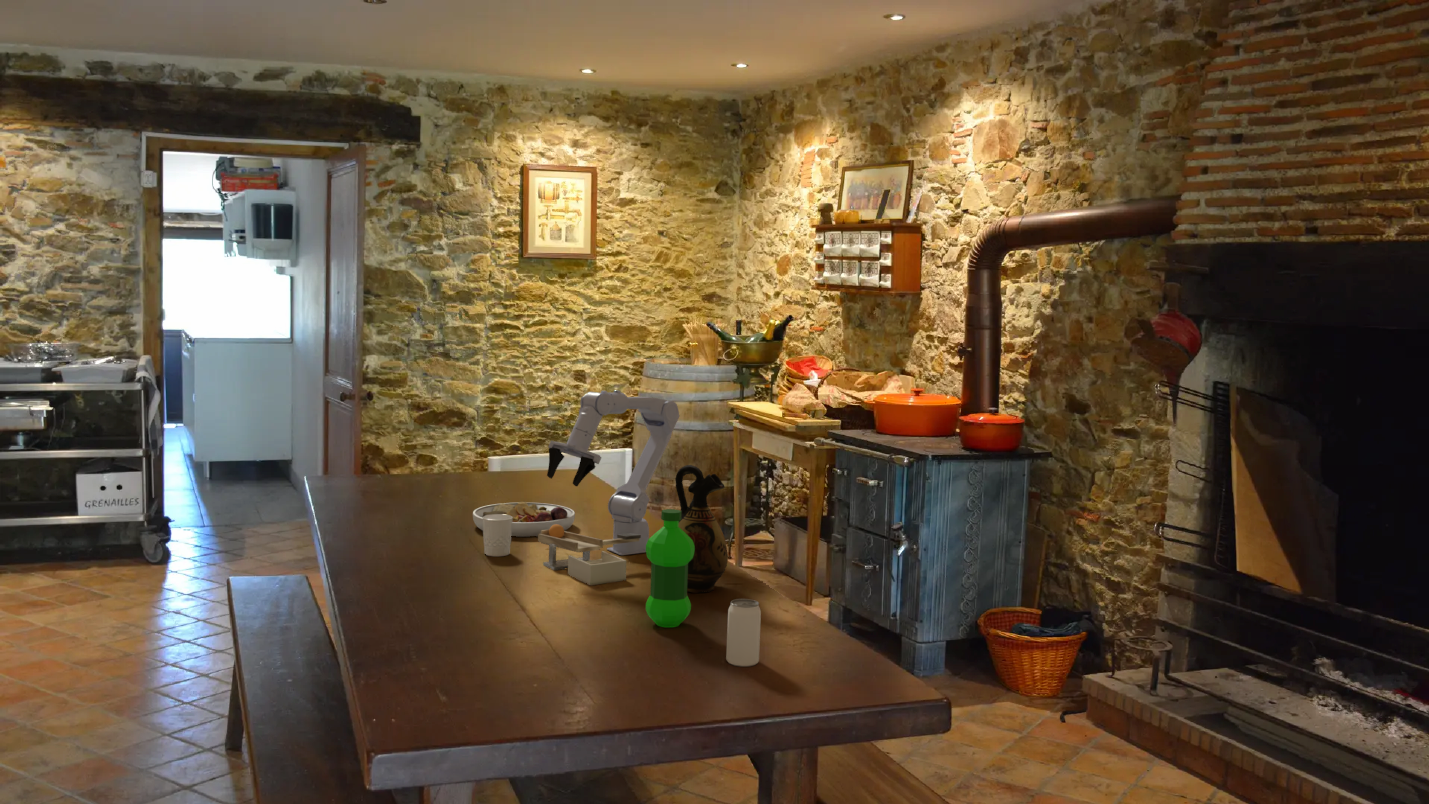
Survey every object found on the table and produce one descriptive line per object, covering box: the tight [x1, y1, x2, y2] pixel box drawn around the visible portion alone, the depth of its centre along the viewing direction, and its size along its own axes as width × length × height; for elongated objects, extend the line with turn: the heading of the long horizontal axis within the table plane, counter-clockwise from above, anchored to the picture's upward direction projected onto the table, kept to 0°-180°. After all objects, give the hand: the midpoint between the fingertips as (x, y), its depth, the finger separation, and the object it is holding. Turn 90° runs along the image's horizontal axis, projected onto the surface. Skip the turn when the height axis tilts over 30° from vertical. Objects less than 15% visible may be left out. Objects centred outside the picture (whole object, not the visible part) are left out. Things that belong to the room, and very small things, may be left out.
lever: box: [537, 528, 641, 553], centre depth 294 cm, size 19×21×3 cm
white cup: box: [482, 514, 513, 557], centre depth 301 cm, size 8×8×10 cm
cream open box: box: [567, 550, 627, 586], centre depth 280 cm, size 10×11×5 cm
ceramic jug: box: [675, 464, 729, 594], centre depth 273 cm, size 17×15×30 cm
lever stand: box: [542, 544, 591, 571], centre depth 291 cm, size 12×6×6 cm, turn 126°
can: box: [725, 598, 762, 668], centre depth 220 cm, size 6×6×12 cm
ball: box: [549, 524, 564, 538], centre depth 297 cm, size 4×4×4 cm
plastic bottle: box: [645, 508, 695, 628], centre depth 243 cm, size 10×10×25 cm
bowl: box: [472, 500, 576, 538], centre depth 334 cm, size 30×30×8 cm
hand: (561, 481), depth 287 cm, fingers open, 7 cm apart
